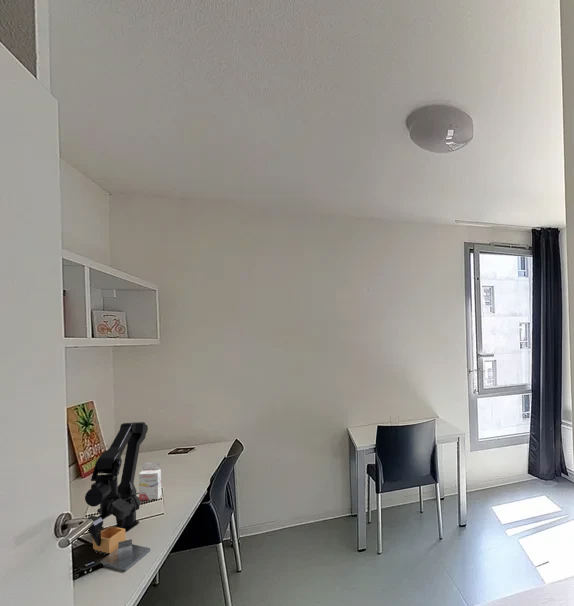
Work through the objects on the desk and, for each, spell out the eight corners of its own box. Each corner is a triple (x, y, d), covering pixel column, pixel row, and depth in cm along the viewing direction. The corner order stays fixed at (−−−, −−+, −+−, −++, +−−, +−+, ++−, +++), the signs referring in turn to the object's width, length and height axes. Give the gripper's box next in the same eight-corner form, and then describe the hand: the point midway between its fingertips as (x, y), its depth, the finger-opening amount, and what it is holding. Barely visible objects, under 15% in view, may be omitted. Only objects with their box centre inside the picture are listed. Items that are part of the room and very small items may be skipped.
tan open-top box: (103, 538, 137) (103, 524, 137) (125, 543, 133) (125, 528, 133) (86, 550, 130) (86, 535, 130) (109, 555, 126) (108, 540, 126)
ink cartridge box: (138, 501, 165) (138, 467, 166) (142, 495, 170) (142, 462, 171) (158, 499, 166) (157, 465, 167) (161, 494, 171) (160, 461, 172)
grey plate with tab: (125, 545, 132) (124, 532, 132) (150, 551, 128) (149, 537, 128) (99, 564, 121) (98, 550, 122) (125, 571, 117) (125, 556, 118)
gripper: (104, 508, 120) (105, 558, 120) (146, 484, 138) (147, 527, 137) (79, 503, 124) (79, 552, 124) (122, 480, 142) (123, 523, 141)
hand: (109, 538), depth 131 cm, fingers open, 9 cm apart
